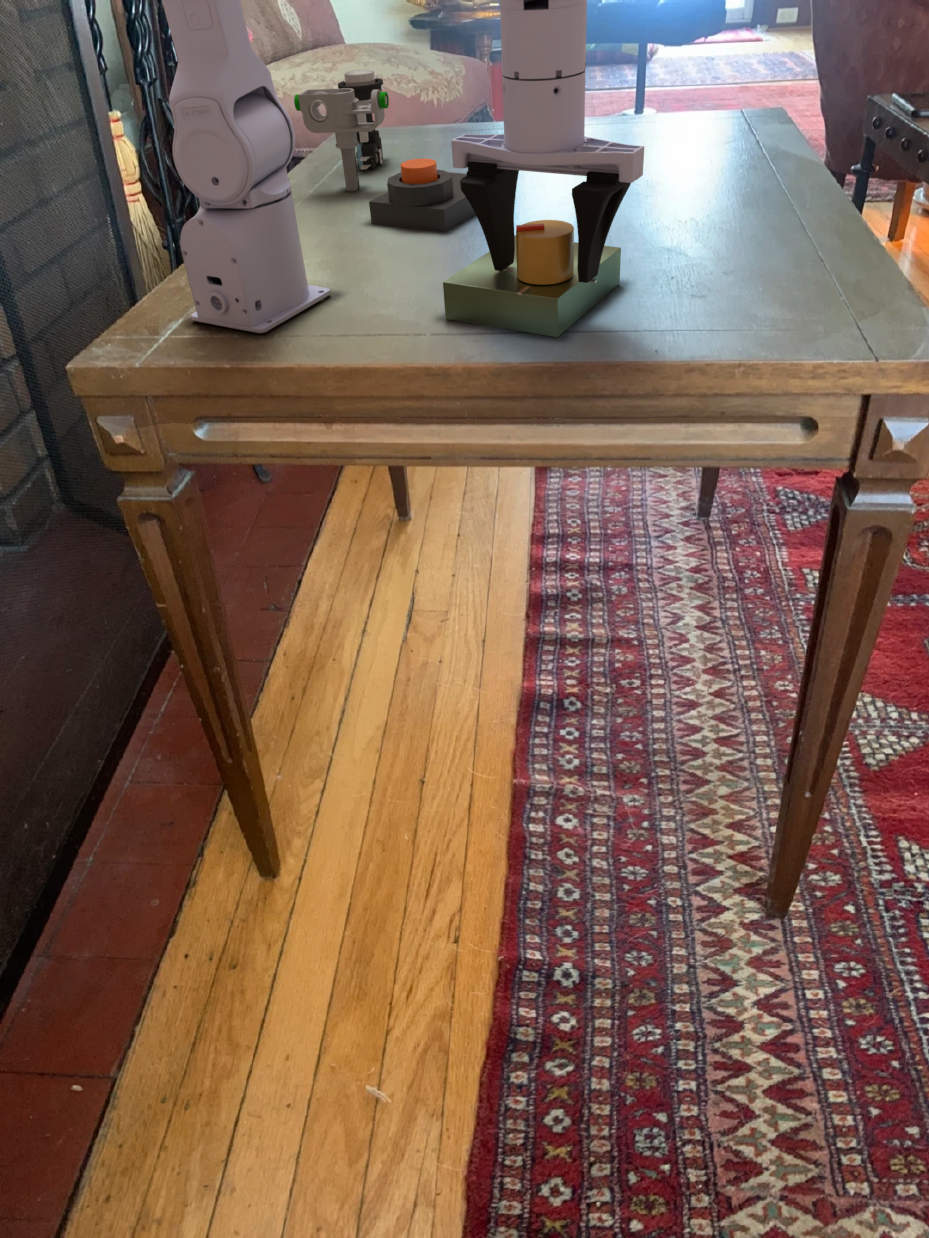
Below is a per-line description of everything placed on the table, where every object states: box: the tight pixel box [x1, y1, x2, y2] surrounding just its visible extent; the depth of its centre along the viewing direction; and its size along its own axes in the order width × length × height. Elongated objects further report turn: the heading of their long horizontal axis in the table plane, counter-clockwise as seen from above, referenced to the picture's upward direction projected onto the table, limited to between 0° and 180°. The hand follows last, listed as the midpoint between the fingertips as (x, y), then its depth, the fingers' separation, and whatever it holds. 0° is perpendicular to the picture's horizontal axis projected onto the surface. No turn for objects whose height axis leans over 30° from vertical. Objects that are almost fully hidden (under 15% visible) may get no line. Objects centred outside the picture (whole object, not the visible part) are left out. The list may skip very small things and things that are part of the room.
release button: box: [400, 158, 438, 184], centre depth 92 cm, size 4×4×2 cm
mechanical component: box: [293, 88, 390, 192], centre depth 102 cm, size 3×10×10 cm, turn 79°
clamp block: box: [442, 234, 622, 338], centre depth 75 cm, size 12×11×3 cm
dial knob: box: [515, 219, 575, 285], centre depth 71 cm, size 4×4×4 cm
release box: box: [368, 169, 476, 233], centre depth 96 cm, size 12×9×4 cm
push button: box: [337, 68, 384, 171], centre depth 110 cm, size 7×5×10 cm
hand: (545, 272), depth 72 cm, fingers open, 7 cm apart
